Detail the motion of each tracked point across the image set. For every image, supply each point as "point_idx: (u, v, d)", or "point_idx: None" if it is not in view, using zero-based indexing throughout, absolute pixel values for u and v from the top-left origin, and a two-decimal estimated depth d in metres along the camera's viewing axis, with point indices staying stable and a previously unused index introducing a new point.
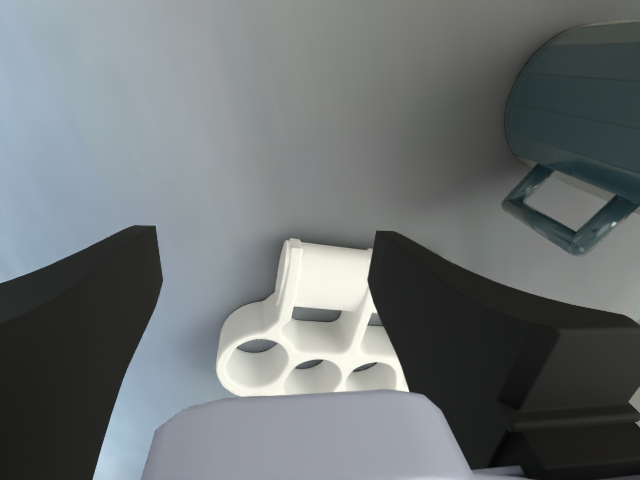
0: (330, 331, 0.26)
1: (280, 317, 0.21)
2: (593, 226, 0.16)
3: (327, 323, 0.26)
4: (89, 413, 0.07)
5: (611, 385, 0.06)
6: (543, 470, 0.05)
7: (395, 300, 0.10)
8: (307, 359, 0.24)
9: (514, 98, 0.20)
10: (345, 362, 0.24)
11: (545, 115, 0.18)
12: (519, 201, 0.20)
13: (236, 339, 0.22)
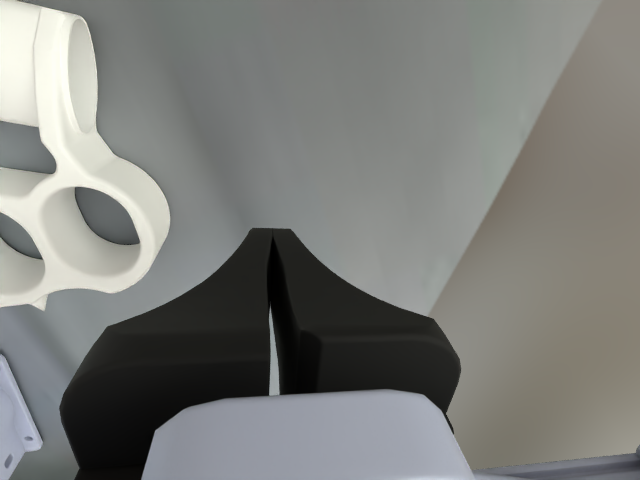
0: None
1: None
2: None
3: None
4: None
5: None
6: None
7: (276, 302, 0.10)
8: None
9: None
10: None
11: None
12: None
13: None
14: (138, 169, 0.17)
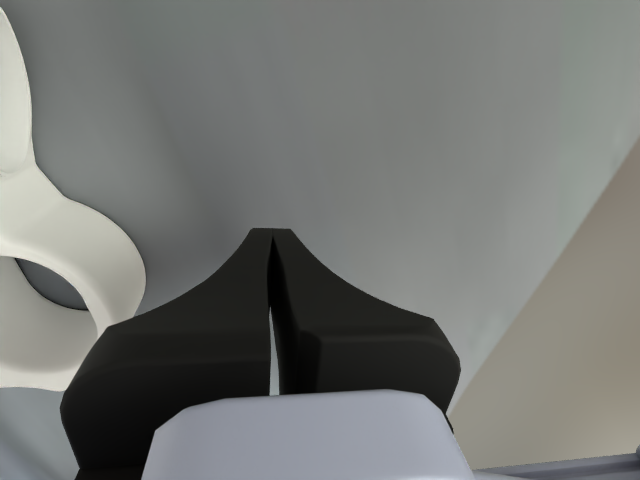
0: None
1: None
2: None
3: None
4: None
5: None
6: None
7: (276, 302, 0.10)
8: None
9: None
10: None
11: None
12: None
13: None
14: (98, 216, 0.12)
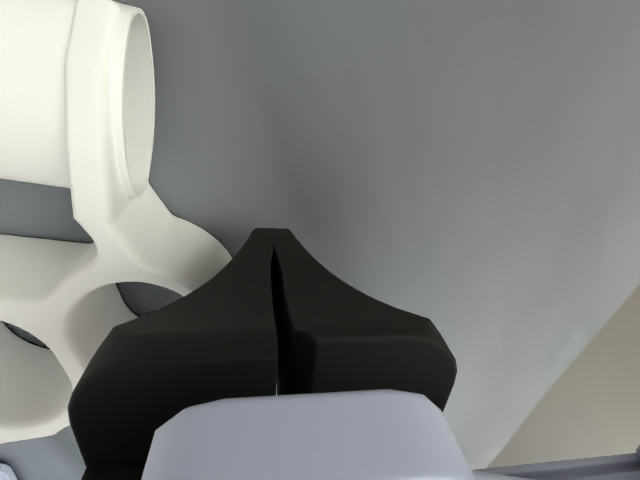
0: None
1: None
2: None
3: None
4: None
5: None
6: None
7: (274, 302, 0.10)
8: None
9: None
10: None
11: None
12: None
13: None
14: (205, 234, 0.12)
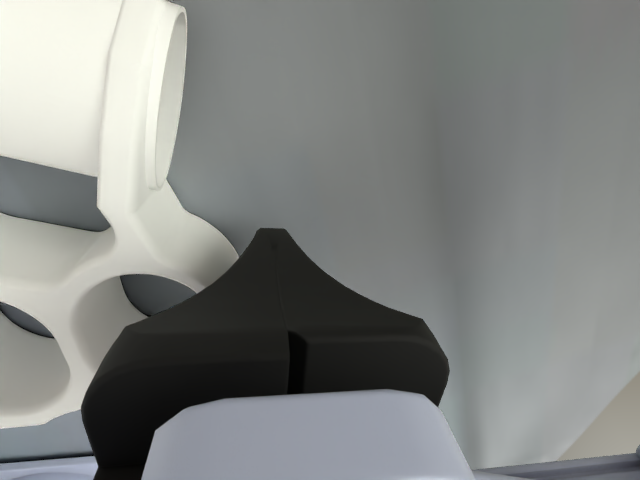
0: None
1: None
2: None
3: None
4: None
5: None
6: None
7: None
8: None
9: None
10: None
11: None
12: None
13: None
14: (216, 232, 0.12)
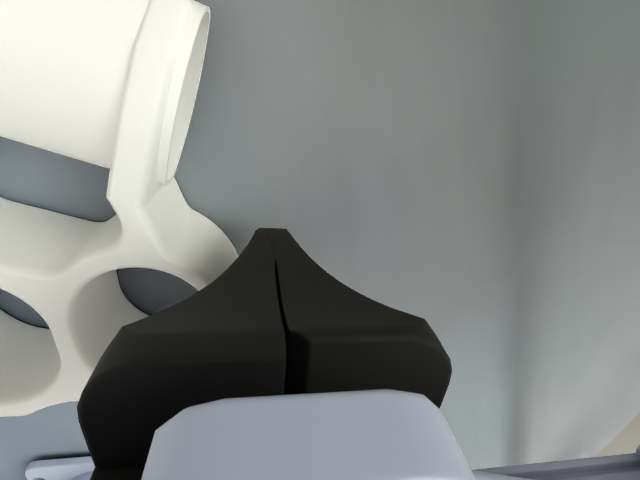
0: None
1: None
2: None
3: None
4: None
5: None
6: None
7: None
8: None
9: None
10: None
11: None
12: None
13: None
14: (218, 230, 0.12)
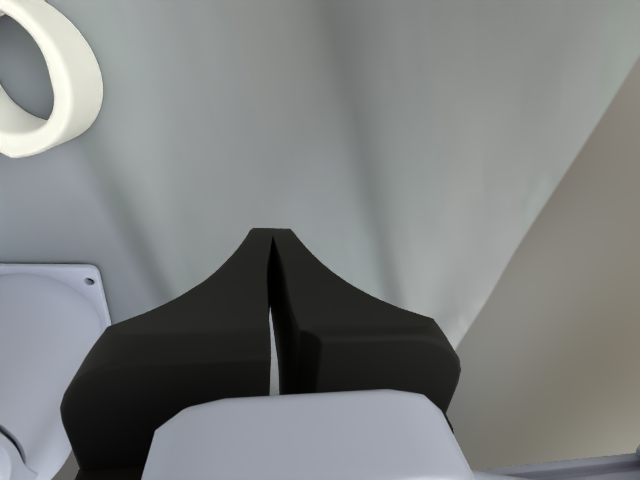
0: None
1: None
2: None
3: None
4: None
5: None
6: None
7: (276, 302, 0.10)
8: None
9: None
10: None
11: None
12: None
13: None
14: (70, 23, 0.15)
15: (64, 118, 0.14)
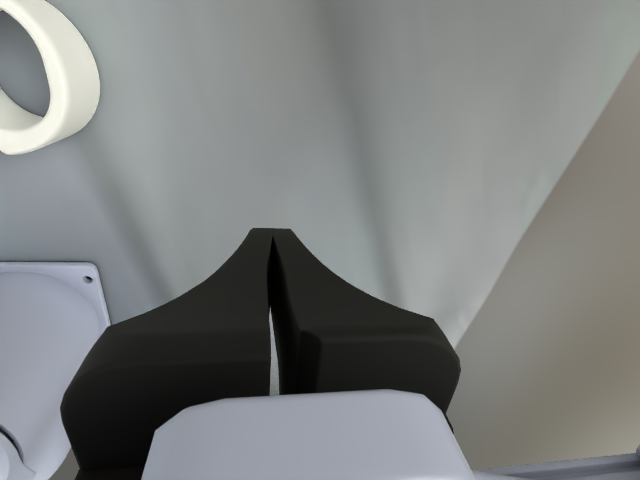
0: None
1: None
2: None
3: None
4: None
5: None
6: None
7: (276, 302, 0.10)
8: None
9: None
10: None
11: None
12: None
13: None
14: (66, 19, 0.15)
15: (61, 114, 0.14)
